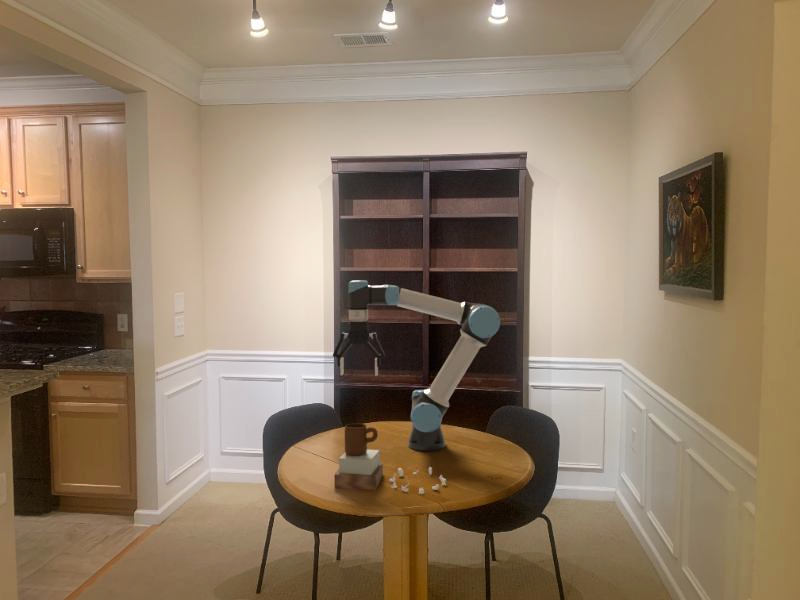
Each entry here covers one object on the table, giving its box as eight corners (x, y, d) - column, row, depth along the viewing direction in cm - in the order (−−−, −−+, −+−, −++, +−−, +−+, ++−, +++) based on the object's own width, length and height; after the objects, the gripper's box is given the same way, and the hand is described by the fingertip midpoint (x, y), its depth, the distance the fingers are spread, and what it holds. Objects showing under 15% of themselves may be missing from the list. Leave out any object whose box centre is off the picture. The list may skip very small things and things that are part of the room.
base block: (382, 476, 205) (382, 462, 205) (376, 491, 192) (375, 476, 191) (344, 474, 207) (343, 460, 207) (334, 489, 193) (334, 474, 193)
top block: (379, 464, 203) (379, 450, 202) (370, 475, 192) (370, 460, 192) (349, 462, 205) (349, 448, 205) (339, 472, 195) (338, 458, 194)
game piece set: (380, 479, 202) (380, 468, 202) (431, 470, 210) (431, 460, 210) (402, 499, 184) (402, 487, 184) (457, 489, 192) (457, 477, 192)
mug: (382, 452, 200) (381, 424, 200) (373, 457, 192) (372, 429, 193) (350, 449, 204) (350, 422, 204) (340, 454, 197) (340, 427, 197)
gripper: (324, 321, 222) (325, 376, 223) (389, 321, 219) (389, 377, 220) (329, 319, 229) (330, 372, 230) (391, 319, 226) (392, 373, 227)
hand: (359, 375), depth 225 cm, fingers open, 13 cm apart
